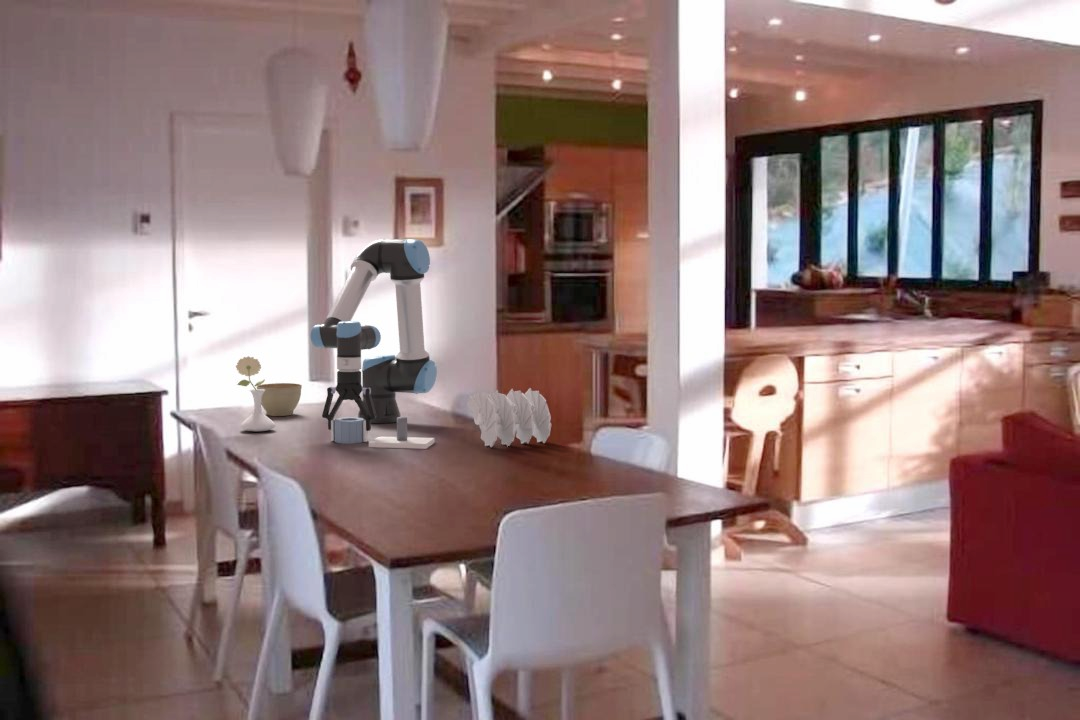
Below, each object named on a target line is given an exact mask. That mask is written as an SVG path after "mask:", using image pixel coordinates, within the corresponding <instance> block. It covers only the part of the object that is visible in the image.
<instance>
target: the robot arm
mask: <svg viewBox="0 0 1080 720" xmlns="http://www.w3.org/2000/svg"><path fill="white" fill-rule="evenodd" d="M430 257H431V256H430V253H429V249H428V247H427V245H426V244H425V243H424V242H423V241H422V240H420V239H414V238H412V239H411V238H388V239H386V238H382V239H381V238H380V239H377V240H374V241H372V242H370V243H369V244H368V245H366V246H364V248H362V249H361V251H359V252H358V254H357V255H356V256H355V257H354V259H353V261H352V262H351V265H350V273H349V274H348V277H347V279H346V280H345V283H344V284H343V286H342V288H341V289H340V291H339V293H338V296H337V298H336V299H335V302H334V303H333V305H332V307H331V309H330V310H329V312H328V314H327V316H326V319H325V320H324V322H323V323H321V324H315V325H314V326H312V327H311V330H310V333H309V334H310V337H309V338H310V341H311V343H312V345H313V346H314V347H316V348H321V349H336V353H337V354H336V369H337V372H336V379H337V380H336V382H337V383H336V386H335V387H334V386H330V387H329V386H328V387H327V389H326V390H327V391H326V393H327V395H326V399H325V403H324V408H323V411H322V414H321V416H322V418H323V419H326V420H327V429H328V430H329V431H330V440H331V441H332V442H335V419H336V418H335V416H336V414H337V412H338V410H339V409H340V407H341V405H342V403H343V401H348V400H349V401H354V402H355V403H356V405H357V407H358V408H359V410H358V413H357V418H363V419H364V421H363V442H362V443H365V442H369V432H370V431H371V429H372V424H389V423H390V424H391V423H392V424H393V423H397V418H398V417H402V416H401V412H400V408H399V405H398V403H397V400H396V396H397V395H396V394H397V393H404V394H405V393H407V394H416V395H418V394H427V393H429V392H430V391H431V390H432V389H433V388H434V385H435V383H436V381H437V379H436V378H437V373H438V371H437V370H438V368H437V365H436V362H435V361H434V360H430V353H429V352H427V351H426V349H425V335H424V334H425V333H424V322H423V321H424V320H423V306H422V305H423V304H422V291H421V289H422V288H421V282H422V281H423V280H424V279H425V274H426V273H428V271H429V270H430V264H431V259H430ZM384 273H385V274H390V275H389V276H390V281H392V282H393V283H394V285H395V298H396V300H395V301H396V313H397V325H398V326H397V328H398V330H397V331H398V341H399V342H398V343H399V344H398V345H399V352H398V353H397V354H396V355H395V354H389V355H380V356H371V357H367V358H364V359H363V361H362V350H371V349H374V348H376V347H377V346H379V344H380V342H381V338H382V337H381V336H382V335H381V332H380V330H379V329H378V328H377V327H376V326H374V325H366V324H365V325H361V322H359V321H355V320H352V319H353V317H354V316H355V313H356V312H357V310H358V308H359V306H360V304H361V301H362V300H363V298H364V296H365V295H366V292H367V291H368V289H369V287H370V285H371V283H372V282H374V281H375V280H376V279H377V277H378V275H380V274H384ZM336 392H337V394H338V397H337V399H336V401H335V403H334V405H333V407H332V408H331V406H332V402H333V397H334V394H335V393H336ZM361 394H362V397H361ZM330 409H331V410H330Z"/></svg>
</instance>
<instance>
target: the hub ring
mask: <svg viewBox="0 0 1080 720" xmlns="http://www.w3.org/2000/svg"><path fill="white" fill-rule="evenodd" d="M334 419H335V440H334V442H335V443H337V444H348V445H350V444H361V443H364V442H363V421H364V419H363V418H358V417H354V416H353V417H352V416H351V417H339V418H334Z"/></svg>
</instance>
